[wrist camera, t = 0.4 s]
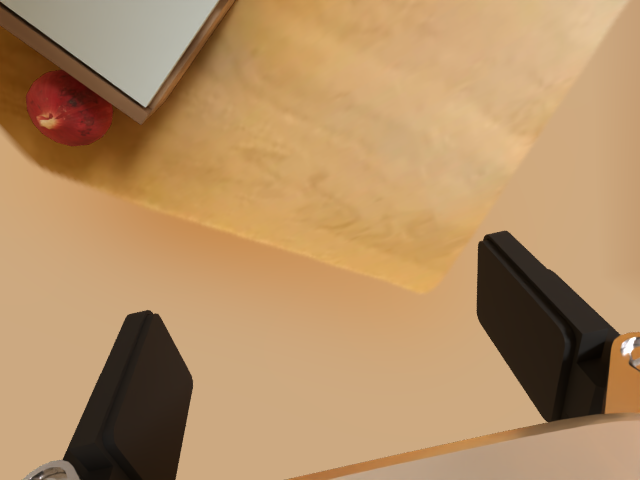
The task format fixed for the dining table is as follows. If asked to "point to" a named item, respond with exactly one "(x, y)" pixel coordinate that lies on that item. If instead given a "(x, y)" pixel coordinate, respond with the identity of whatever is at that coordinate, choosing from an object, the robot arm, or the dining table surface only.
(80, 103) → the onion
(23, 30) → the lid box
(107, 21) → the lid
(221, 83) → the dining table surface
